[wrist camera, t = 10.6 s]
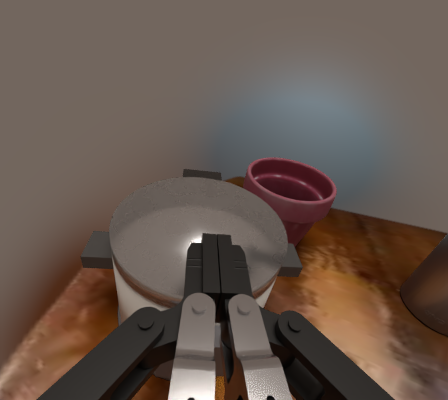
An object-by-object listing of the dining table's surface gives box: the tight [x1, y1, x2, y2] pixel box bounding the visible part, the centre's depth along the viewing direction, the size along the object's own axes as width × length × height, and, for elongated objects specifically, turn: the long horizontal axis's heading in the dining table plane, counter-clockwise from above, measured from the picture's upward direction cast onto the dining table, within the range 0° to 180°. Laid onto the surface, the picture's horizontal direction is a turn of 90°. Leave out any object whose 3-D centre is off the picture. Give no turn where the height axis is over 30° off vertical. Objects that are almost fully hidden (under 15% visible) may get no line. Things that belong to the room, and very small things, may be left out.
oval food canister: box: [81, 231, 303, 381], centre depth 29 cm, size 19×23×12 cm
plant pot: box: [243, 158, 337, 247], centre depth 43 cm, size 14×14×13 cm
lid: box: [109, 169, 288, 308], centre depth 27 cm, size 20×17×2 cm
